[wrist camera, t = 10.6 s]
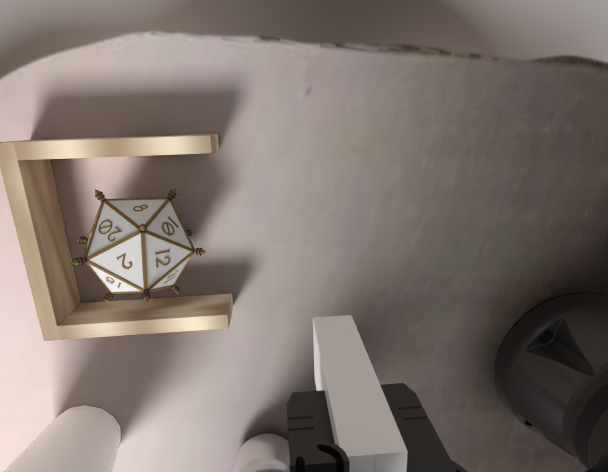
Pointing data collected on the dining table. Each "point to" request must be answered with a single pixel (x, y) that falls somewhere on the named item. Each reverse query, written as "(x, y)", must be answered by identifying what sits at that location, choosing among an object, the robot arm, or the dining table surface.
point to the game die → (137, 245)
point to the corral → (56, 253)
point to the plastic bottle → (263, 455)
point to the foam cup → (73, 444)
